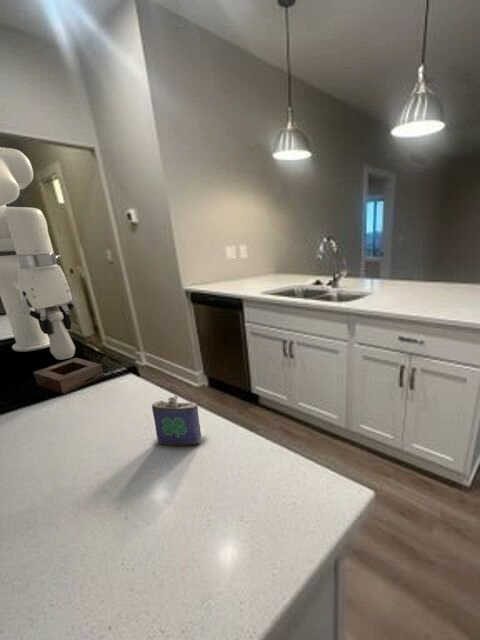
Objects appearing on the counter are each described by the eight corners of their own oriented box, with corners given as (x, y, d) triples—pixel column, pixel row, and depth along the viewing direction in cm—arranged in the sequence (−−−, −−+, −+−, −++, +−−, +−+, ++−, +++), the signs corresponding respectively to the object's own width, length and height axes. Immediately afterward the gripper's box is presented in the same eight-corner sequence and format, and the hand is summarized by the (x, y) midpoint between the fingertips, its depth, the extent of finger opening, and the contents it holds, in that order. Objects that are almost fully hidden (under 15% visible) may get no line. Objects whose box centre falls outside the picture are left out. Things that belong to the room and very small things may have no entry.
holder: (37, 385, 96) (33, 372, 95) (79, 369, 106) (75, 357, 105) (63, 394, 91) (59, 380, 90) (104, 376, 101) (101, 364, 100)
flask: (203, 438, 73) (197, 394, 69) (199, 447, 70) (192, 401, 66) (161, 437, 73) (152, 393, 69) (155, 445, 71) (145, 400, 67)
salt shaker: (65, 361, 93) (51, 314, 88) (47, 360, 94) (33, 313, 89) (82, 353, 98) (70, 309, 93) (64, 352, 99) (52, 308, 94)
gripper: (62, 257, 94) (79, 321, 101) (-11, 264, 80) (14, 338, 87) (80, 258, 91) (95, 324, 98) (7, 266, 77) (31, 342, 84)
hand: (57, 330), depth 93 cm, fingers closed on salt shaker, 4 cm apart
